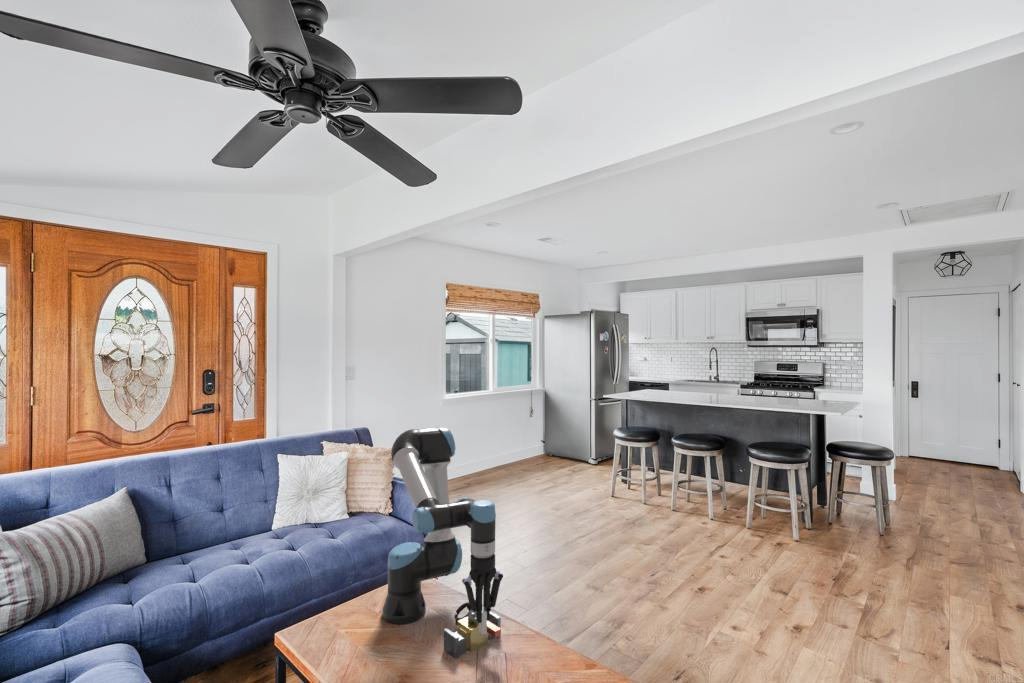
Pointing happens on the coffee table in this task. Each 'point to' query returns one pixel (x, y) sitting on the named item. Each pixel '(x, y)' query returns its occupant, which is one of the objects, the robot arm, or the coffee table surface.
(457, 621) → the pottery mug
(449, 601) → the coffee table surface
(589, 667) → the coffee table surface
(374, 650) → the coffee table surface
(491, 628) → the lever
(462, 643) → the valve body
